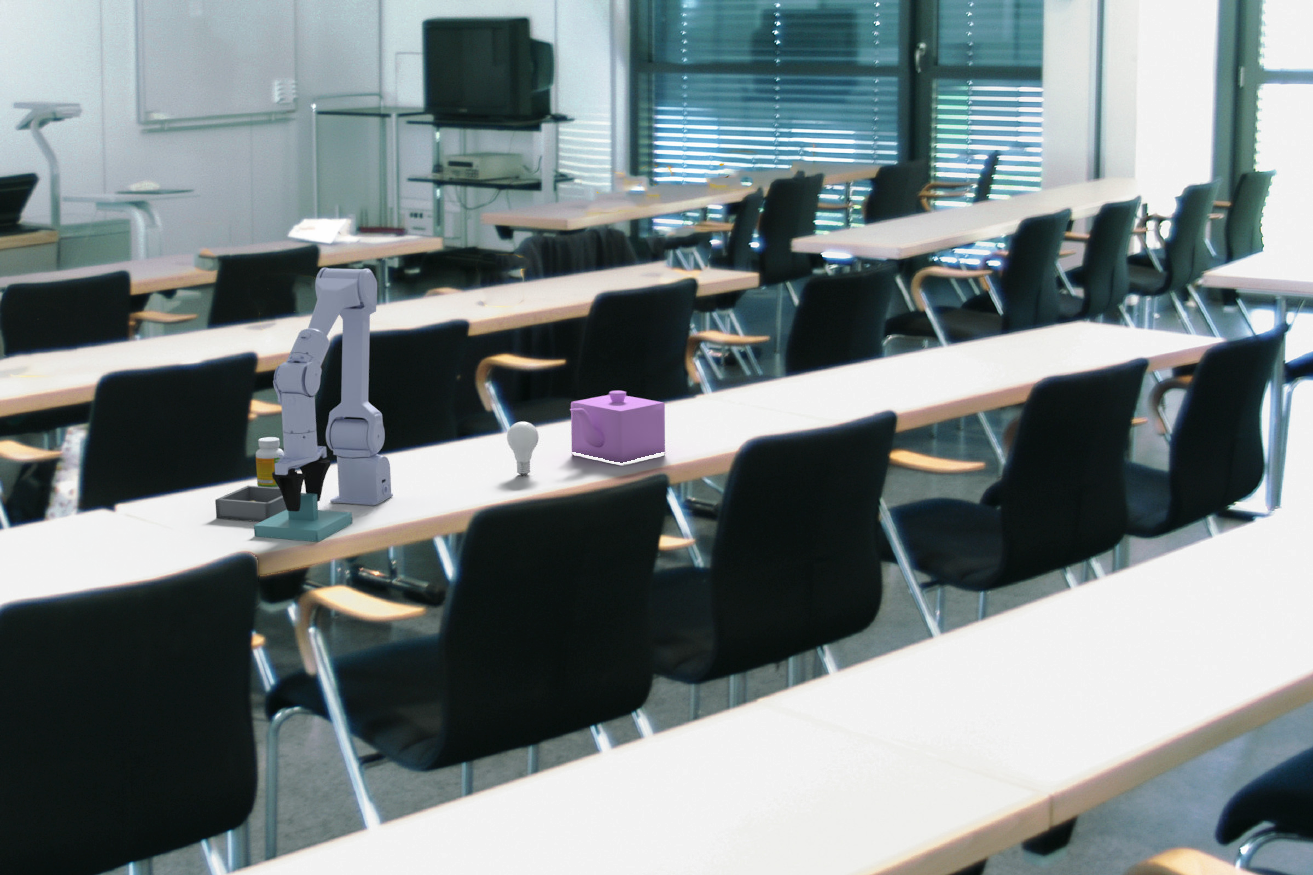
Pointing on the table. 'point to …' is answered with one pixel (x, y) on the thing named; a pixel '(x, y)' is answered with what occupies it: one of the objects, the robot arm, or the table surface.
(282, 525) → the lid
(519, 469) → the lightbulb
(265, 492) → the tub
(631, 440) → the teapot
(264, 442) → the supplement bottle
